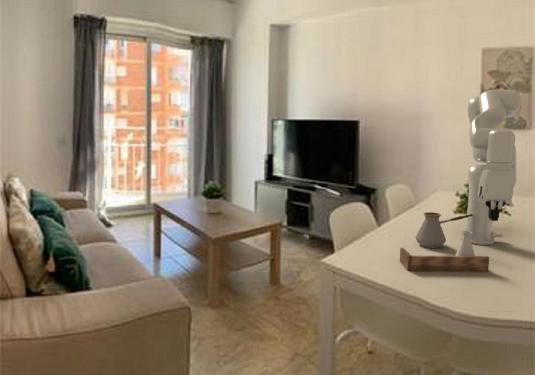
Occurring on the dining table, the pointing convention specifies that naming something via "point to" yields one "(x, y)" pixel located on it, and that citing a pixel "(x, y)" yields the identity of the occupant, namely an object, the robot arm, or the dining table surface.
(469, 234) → the flask
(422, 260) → the wooden block
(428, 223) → the coffee pot
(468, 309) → the dining table surface
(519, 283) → the dining table surface
